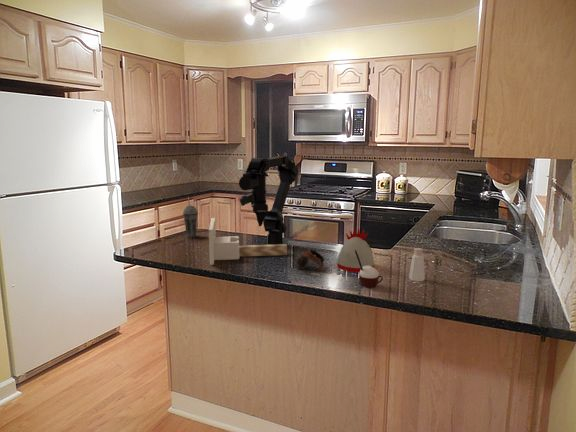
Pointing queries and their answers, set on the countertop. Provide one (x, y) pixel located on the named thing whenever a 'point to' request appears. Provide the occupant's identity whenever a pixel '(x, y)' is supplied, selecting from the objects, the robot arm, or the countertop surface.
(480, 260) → the countertop surface
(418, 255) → the pepper shaker
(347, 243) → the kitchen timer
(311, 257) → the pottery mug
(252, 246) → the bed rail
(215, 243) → the white angular piece
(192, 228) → the beverage cup
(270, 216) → the robot arm
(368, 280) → the cocoa
